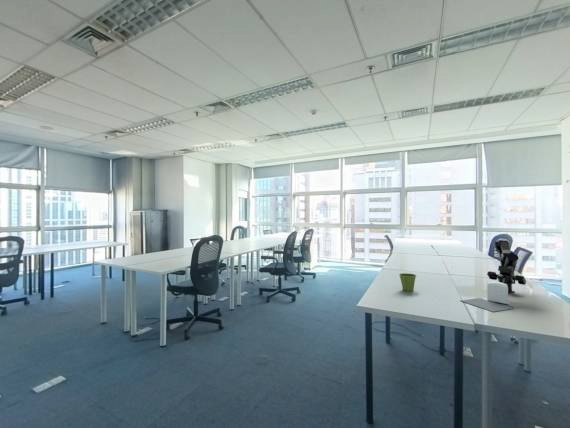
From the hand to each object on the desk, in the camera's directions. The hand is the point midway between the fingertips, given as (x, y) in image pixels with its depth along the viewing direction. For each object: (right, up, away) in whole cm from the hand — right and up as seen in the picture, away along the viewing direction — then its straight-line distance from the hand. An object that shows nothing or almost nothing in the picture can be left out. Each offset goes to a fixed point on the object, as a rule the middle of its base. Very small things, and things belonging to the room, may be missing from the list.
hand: (502, 288), depth 165 cm
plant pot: (-48, -9, +26) cm, 55 cm away
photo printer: (-6, -8, -4) cm, 11 cm away
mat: (-16, -8, -8) cm, 20 cm away
